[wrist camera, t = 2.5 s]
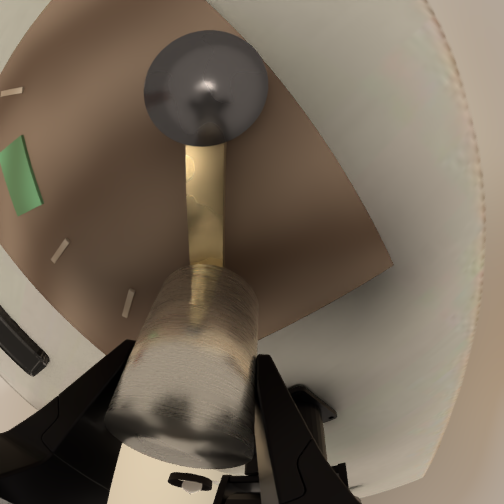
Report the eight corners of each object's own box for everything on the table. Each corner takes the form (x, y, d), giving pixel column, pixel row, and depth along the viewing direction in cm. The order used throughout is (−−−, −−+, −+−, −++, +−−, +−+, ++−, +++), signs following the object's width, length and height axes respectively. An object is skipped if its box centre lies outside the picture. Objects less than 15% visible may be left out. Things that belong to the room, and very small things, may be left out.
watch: (174, 475, 36) (171, 491, 33) (165, 468, 34) (162, 486, 31) (215, 480, 35) (213, 497, 32) (209, 474, 33) (207, 493, 30)
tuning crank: (158, 47, 7) (4, -8, 1) (276, 43, 7) (305, -87, 1) (177, 340, 14) (141, 465, 7) (254, 347, 14) (247, 482, 7)
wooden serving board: (382, 249, 13) (395, 267, 11) (153, 370, 18) (147, 388, 16) (132, -52, 5) (117, -65, 4) (-26, 171, 11) (-42, 179, 9)
